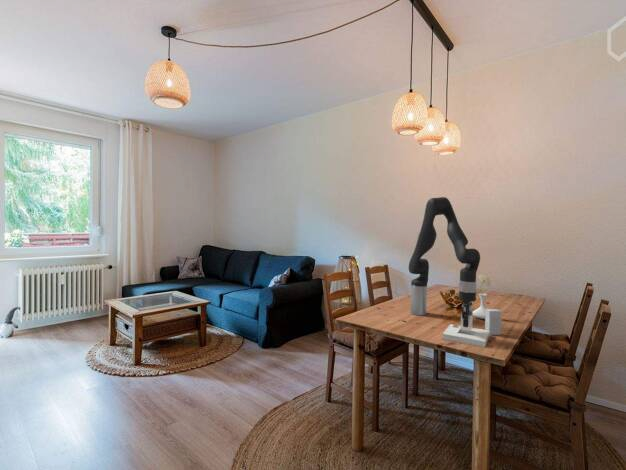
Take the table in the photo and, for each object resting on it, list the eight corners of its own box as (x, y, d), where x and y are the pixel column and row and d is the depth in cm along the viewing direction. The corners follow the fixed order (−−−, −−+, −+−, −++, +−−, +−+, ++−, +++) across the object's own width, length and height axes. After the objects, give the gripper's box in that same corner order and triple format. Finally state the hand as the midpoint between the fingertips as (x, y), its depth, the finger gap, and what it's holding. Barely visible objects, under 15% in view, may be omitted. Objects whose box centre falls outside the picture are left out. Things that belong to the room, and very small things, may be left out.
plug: (462, 327, 163) (462, 309, 163) (472, 328, 160) (472, 311, 160) (460, 329, 159) (461, 311, 159) (470, 331, 157) (471, 313, 156)
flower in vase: (496, 321, 187) (498, 277, 186) (474, 319, 190) (476, 276, 189) (489, 314, 200) (490, 273, 199) (468, 313, 202) (470, 272, 201)
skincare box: (496, 332, 169) (496, 308, 168) (501, 335, 164) (502, 311, 164) (484, 332, 168) (485, 308, 168) (489, 335, 164) (489, 311, 164)
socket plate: (450, 329, 173) (450, 323, 172) (489, 335, 163) (489, 329, 163) (442, 339, 158) (442, 332, 157) (484, 347, 148) (485, 340, 148)
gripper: (461, 287, 167) (460, 320, 168) (456, 291, 155) (455, 328, 156) (478, 288, 163) (477, 323, 164) (473, 293, 151) (472, 331, 152)
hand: (466, 325), depth 160 cm, fingers closed on plug, 4 cm apart
